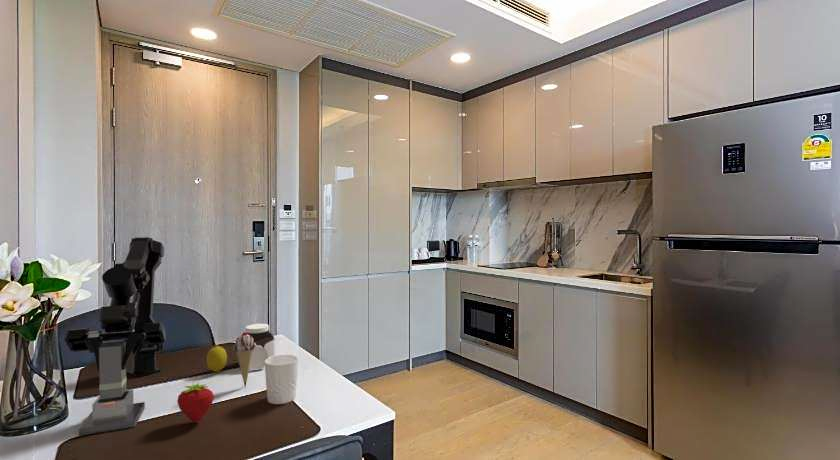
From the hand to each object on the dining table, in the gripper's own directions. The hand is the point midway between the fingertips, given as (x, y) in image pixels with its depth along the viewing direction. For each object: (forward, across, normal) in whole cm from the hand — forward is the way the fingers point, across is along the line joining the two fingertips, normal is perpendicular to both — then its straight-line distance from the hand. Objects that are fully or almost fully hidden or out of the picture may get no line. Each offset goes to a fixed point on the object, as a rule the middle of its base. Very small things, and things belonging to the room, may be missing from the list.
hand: (111, 370), depth 95 cm
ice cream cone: (+1, +27, +16) cm, 32 cm away
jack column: (+3, 0, +5) cm, 6 cm away
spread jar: (-12, +31, +29) cm, 44 cm away
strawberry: (+13, +17, +4) cm, 22 cm away
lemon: (-10, +20, +27) cm, 35 cm away
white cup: (+9, +36, +8) cm, 38 cm away
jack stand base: (+8, 0, +9) cm, 12 cm away
